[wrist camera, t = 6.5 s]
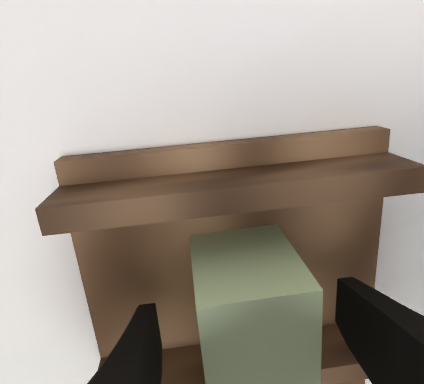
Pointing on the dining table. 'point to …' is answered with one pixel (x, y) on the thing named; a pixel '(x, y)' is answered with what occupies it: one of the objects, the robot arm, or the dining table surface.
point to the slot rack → (223, 226)
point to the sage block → (256, 308)
